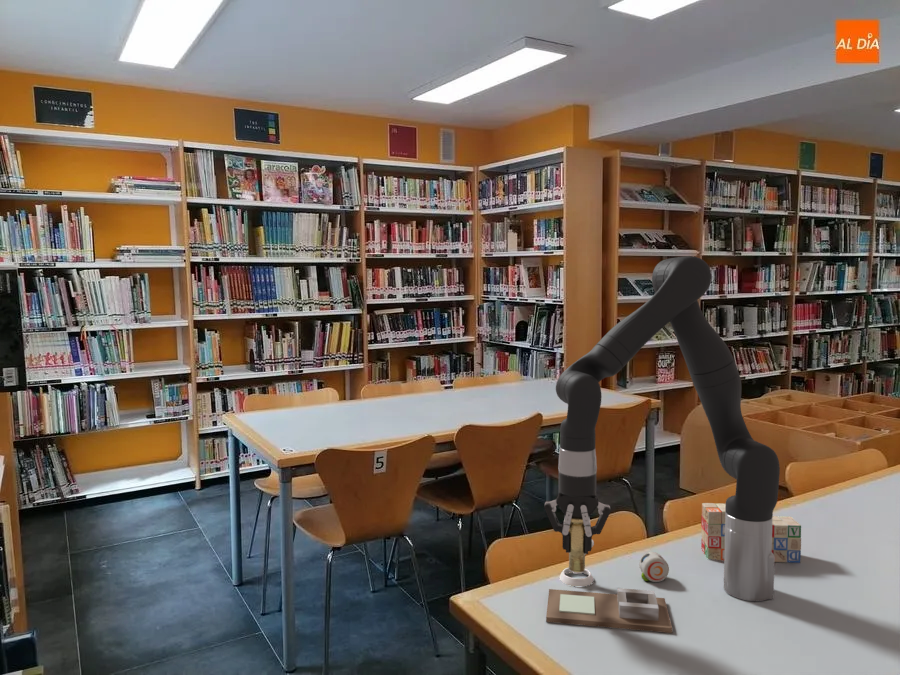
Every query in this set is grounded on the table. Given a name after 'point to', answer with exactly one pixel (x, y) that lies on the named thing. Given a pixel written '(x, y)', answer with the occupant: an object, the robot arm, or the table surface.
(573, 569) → the brass peg
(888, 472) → the table surface
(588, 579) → the white vr controller
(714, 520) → the stack of blocks
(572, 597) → the sage pad
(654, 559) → the roller toy
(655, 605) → the walnut board
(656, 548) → the table surface
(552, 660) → the table surface
